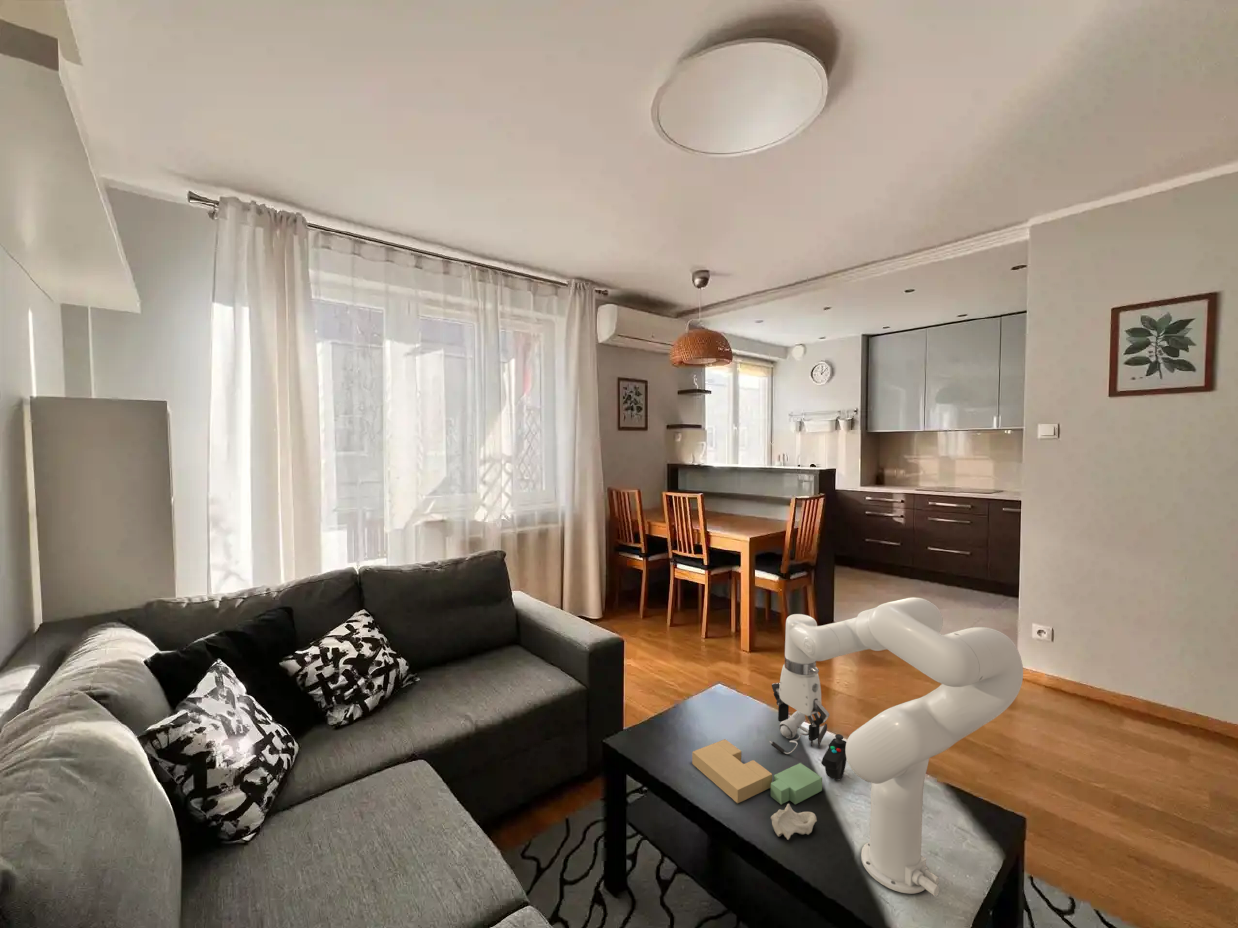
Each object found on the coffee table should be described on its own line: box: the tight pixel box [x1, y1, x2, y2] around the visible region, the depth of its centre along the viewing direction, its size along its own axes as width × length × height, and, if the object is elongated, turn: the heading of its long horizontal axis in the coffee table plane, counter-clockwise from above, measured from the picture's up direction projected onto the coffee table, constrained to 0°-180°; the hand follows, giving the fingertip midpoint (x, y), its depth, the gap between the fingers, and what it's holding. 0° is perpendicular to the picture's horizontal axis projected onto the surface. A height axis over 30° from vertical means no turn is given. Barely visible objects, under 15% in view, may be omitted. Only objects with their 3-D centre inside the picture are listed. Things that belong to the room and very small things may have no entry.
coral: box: [770, 803, 818, 841], centre depth 119 cm, size 6×10×4 cm, turn 115°
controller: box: [820, 733, 847, 781], centre depth 137 cm, size 4×12×10 cm, turn 141°
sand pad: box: [691, 738, 773, 804], centre depth 138 cm, size 18×12×4 cm, turn 30°
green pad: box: [770, 762, 823, 805], centre depth 132 cm, size 7×13×4 cm, turn 120°
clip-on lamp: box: [768, 710, 828, 755], centre depth 153 cm, size 12×6×18 cm
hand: (797, 729), depth 132 cm, fingers open, 9 cm apart
